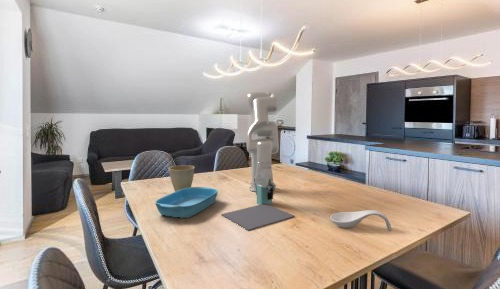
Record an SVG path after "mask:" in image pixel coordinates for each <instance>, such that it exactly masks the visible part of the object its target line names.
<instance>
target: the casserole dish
mask: <svg viewBox="0 0 500 289" xmlns="http://www.w3.org/2000/svg"><path fill="white" fill-rule="evenodd" d="M218 193H219V190H218V189H217V188H213V187H210V186H209V187H208V186H191V187H188V188H184V189H181V190H178V191H176V192H175V191H174V192H171V193H169V194H166V195H164V196H162V197H159V198H158V199H156V200H155V201H154V204H155V206H156V209H157V210H158V213H159V214H160V215H162V216H164V215H166V216H165V217H169V216H172V217H171V218H177V217H180V218H179V219H187V218H190V217H191V218H192V217H194V216H195V215H197V214H199V213H200V212H202V211H203V210H205V209H207V208H208V207H209V206H211V205H213V204H214V203H215V202H216V199H217V196H218Z"/></svg>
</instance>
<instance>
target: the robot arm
mask: <svg viewBox="0 0 500 289" xmlns="http://www.w3.org/2000/svg"><path fill="white" fill-rule="evenodd" d="M246 104H247V108H248V110H249V113H250V118H251V120H250V122H251V125H250V126H249V128H248V130H247V132H246V140H245V141H246V150H247V152H248V154H250V157H251V158H250V159H251V181H249V184H250V187H248V189H249V191H250V192H255V195H256V196H257V185H261V186H262V187H263V188H267V190H268V192H267V199H268V200H271V199H272V200H273V199H274V191H275V189H276V186H277V185H276V183H275V182H274V178H273V177H274V175H273V169H272V155H277V153H278V152H279V149H280V146H279V144H280V143H279V129H278V125H277V122H275V121H271V120H270V121H269V113H275V112H277V111H278V108H279V103H278V98H277V96H276V94H275V92H272V91H255V92H254V91H253V92H250V93H247V95H246ZM252 136H254V137H258V138H254V139H252ZM266 137H267V138H266ZM269 188H271V189H269Z"/></svg>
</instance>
